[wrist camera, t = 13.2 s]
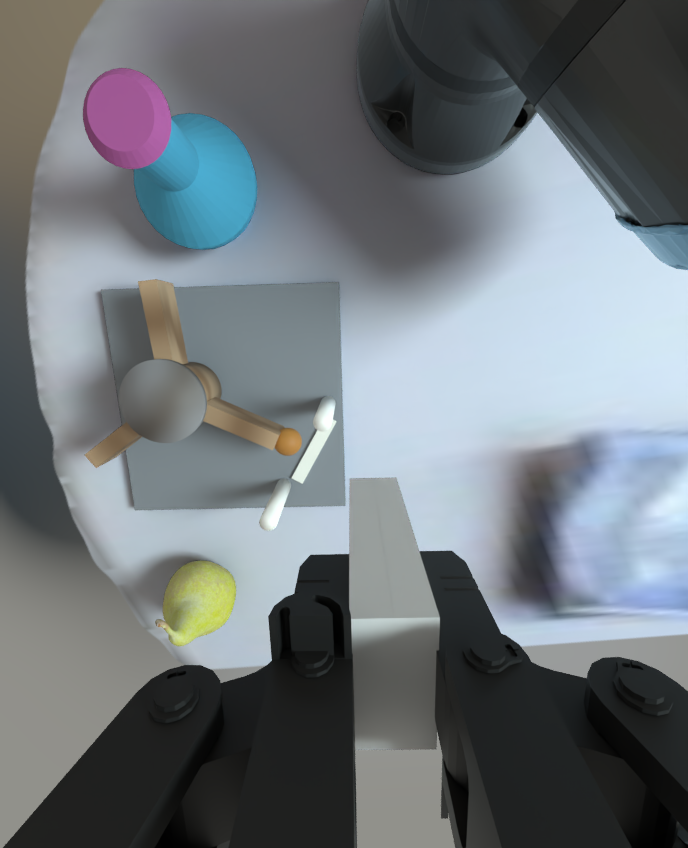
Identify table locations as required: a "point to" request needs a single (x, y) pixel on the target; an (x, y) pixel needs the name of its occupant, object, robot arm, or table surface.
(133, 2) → the table surface
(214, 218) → the perfume bottle
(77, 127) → the table surface
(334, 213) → the table surface
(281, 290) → the stand
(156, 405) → the capstan
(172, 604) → the fruit
